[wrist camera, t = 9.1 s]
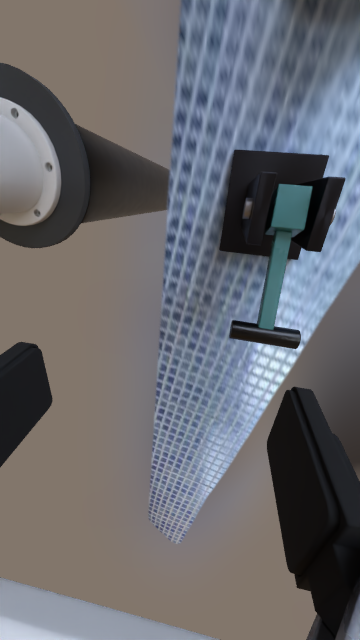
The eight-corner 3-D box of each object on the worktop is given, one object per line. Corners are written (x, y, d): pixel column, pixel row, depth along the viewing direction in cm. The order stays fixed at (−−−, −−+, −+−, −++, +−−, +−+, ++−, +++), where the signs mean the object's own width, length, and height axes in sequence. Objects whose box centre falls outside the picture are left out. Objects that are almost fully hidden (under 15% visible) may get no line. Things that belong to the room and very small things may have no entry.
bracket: (295, 257, 29) (336, 294, 18) (219, 248, 30) (212, 278, 19) (325, 157, 24) (407, 120, 13) (234, 151, 25) (236, 112, 14)
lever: (290, 345, 20) (300, 352, 17) (228, 335, 20) (230, 341, 18) (320, 201, 18) (336, 187, 16) (252, 195, 19) (257, 181, 16)
